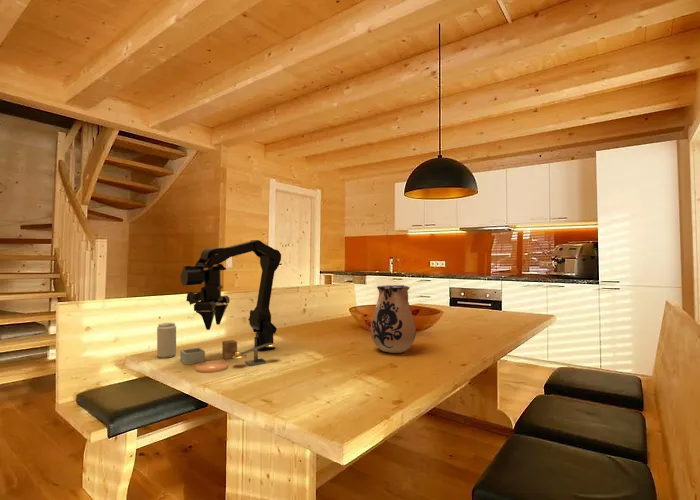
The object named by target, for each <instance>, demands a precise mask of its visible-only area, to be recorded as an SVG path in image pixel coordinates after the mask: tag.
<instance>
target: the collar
mask: <svg viewBox="0 0 700 500" xmlns="http://www.w3.org/2000/svg"><path fill="white" fill-rule="evenodd" d="M179 353H180V357H179V361H180V362H182V363H183V364H184V365H191V364H199V363H201V362H206V352H205V350H203V348H201V347H192V348H186V349H185V348H184V349H180V352H179Z"/></svg>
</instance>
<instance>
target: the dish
mask: <svg viewBox="0 0 700 500" xmlns="http://www.w3.org/2000/svg"><path fill="white" fill-rule="evenodd" d="M228 366H229V365H228V362H227V360H216V359H215V360H205V362H198V363H196V365H195V371H196V372H197V373H201V374H202V373H205V374H206V373H207V374H209V373H210V374H211V373H219V372H222V371H225V370H227V369H228Z"/></svg>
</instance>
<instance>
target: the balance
mask: <svg viewBox="0 0 700 500" xmlns="http://www.w3.org/2000/svg"><path fill="white" fill-rule="evenodd" d="M265 346H266V347H275V348H276V347H278V346H279V345H278V343H274V342H273V343H266V344H263V345H261V346H258V347H255V348H254V347H252V348H250V349H248V350H244V351H242V352H241V351H238V350H237V352H235V355H234V356H233V358H234V359H233V360H242V359H245V358H247V355H246V354H249V353H250V352H251V353H252V352H253V359H250V360H245V361H244V362H245V363H244V364H245V365H247V366H249V367H253V366H258V365H264V364H267V360H266V359H264V358H258V354H259V353H258V351H259V350H258V349H259V348H262V347H265Z"/></svg>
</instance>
